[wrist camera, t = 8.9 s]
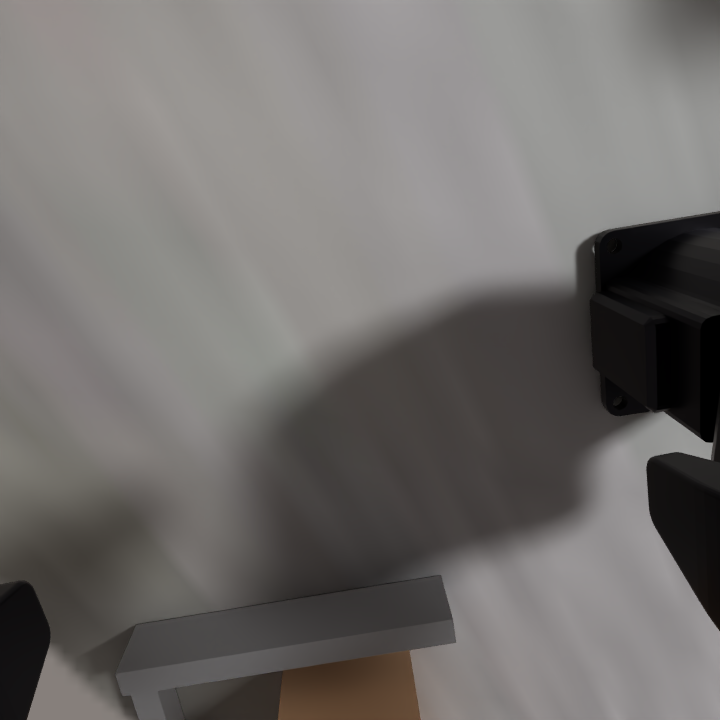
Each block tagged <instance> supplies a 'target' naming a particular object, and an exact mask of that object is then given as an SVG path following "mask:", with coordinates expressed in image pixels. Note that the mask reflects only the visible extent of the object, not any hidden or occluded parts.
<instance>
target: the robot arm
mask: <svg viewBox="0 0 720 720" xmlns="http://www.w3.org/2000/svg"><path fill="white" fill-rule="evenodd" d="M613 238H615V239H616V242H617V246H616V248H615V249H614V251H612V252H608V250H607V243H608V242H609V241H610V240H611V239H613ZM594 251H595V273H596V292H595V293H594V294H593V296H592V297H591V299H590V316H591V336H592V356H593V367H594V368H595V369H596V370H597V371H599V372H600V378H601V400H602V405H603V407H604V408H605V409H606V410H607V411H608V412H609V413H610V414H612V415H615V416H624V415H630V414H636V413H642V412H649V411H652V412H654V413H656V412H662V411H664V412H665V413H666V414H668V415H669V416H671V417H672V418H673V419H675V420H676V421H677V422H679V423H680V424H682V425H683V426H684V427H686V428H687V429H688V430H690V431H691V432H693V433H694V434H695V435H697V436H698V437H699V438H701V439H702V440H704V441H705V442H710V443H712V442H713V448H712V455H711V460H707V459H703V458H700V457H696V456H692V455H688V454H684V453H679V452H674V453H669V454H664V455H658V456H654V457H651V458H650V459H649V460H648V462H647V467H646V471H647V486H648V501H649V511H650V516H651V519H652V522H653V524H654V526H655V528H656V529H657V531H658V533H659V534H660V536H661V538H662V539H663V541H664V543H665V545H666V546H667V548H668V550H669V551H670V553H671V555H672V556H673V558H674V560H675V561H676V563H677V565H678V566H679V568H680V570H681V571H682V573H683V575H684V576H685V578H686V580H687V581H688V583H689V585H690V586H691V588H692V590H693V591H694V593H695V595H696V596H697V598H698V600H699V601H700V603H701V604H702V606H703V608H704V609H705V611H706V612H707V614H708V615H709V617H710V618H711V620H712V621H713V622H714V624H715V625H716V627H717V628H718V629H719V631H720V211H718V212H712V213H706V214H700V215H694V216H687V217H681V218H675V219H669V220H663V221H657V222H651V223H645V224H639V225H633V226H627V227H620V228H614V229H608V230H606V231H603V232H602V233H601V234H600V235H598V237H597V239H596V241H595V246H594ZM619 396H622V397H623V399H622V402H621V403H620V404H618V405H616V406H614V405H613V402H614V400H615V399H616V398H617V397H619ZM49 644H50V627H49V624H48V622H47V619H46V617H45V614H44V612H43V609H42V607H41V605H40V602H39V600H38V597H37V595H36V592H35V590H34V588H33V586H32V585H31V584H30V583H29V582H27V581H16V582H10V583H5V584H0V720H27V717H28V713H29V710H30V707H31V703H32V701H33V697H34V694H35V690H36V687H37V684H38V681H39V678H40V673H41V671H42V668H43V664H44V661H45V658H46V654H47V651H48V648H49Z"/></svg>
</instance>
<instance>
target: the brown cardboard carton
mask: <svg viewBox="0 0 720 720" xmlns="http://www.w3.org/2000/svg"><path fill="white" fill-rule="evenodd" d="M278 720H421V719H420V713H419V707H418V701H417V695H416V689H415V682H414V676H413V670H412V664H411V658H410V652H409V650H407V651H401V652H394V653H388V654H382V655H376V656H370V657H363V658H357V659H351V660H345V661H339V662H333V663H326V664H320V665H314V666H308V667H302V668H295V669H289V670H283V673H282V683H281V693H280V703H279V713H278Z"/></svg>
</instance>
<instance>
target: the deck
mask: <svg viewBox="0 0 720 720" xmlns="http://www.w3.org/2000/svg"><path fill="white" fill-rule="evenodd" d="M450 643H456V639H455V632H454V624H453V618H452V614H451V611H450V607H449V603H448V600H447V596H446V592H445V589H444V585H443V581H442V578H441V575H440V576H434V577H428V578H421V579H415V580H409V581H403V582H397V583H391V584H384V585H378V586H372V587H366V588H360V589H354V590H347V591H341V592H335V593H329V594H323V595H317V596H310V597H304V598H298V599H292V600H286V601H280V602H273V603H267V604H261V605H255V606H249V607H243V608H237V609H230V610H224V611H218V612H212V613H206V614H200V615H193V616H187V617H181V618H175V619H169V620H163V621H156V622H150V623H144V624H138V625H136V626H135V629H134V631H133V633H132V635H131V638H130V640H129V642H128V645H127V647H126V649H125V652H124V654H123V656H122V659H121V661H120V663H119V666H118V668H117V670H116V673H115V676H116V679H117V682H118V685H119V688H120V690H121V693H122V696H129V695H131V697H132V700H133V703H134V706H135V709H136V712H137V715H138V718H139V720H185V718H184V715H183V712H182V708H181V705H180V702H179V699H178V695H177V692H176V689H175V688H178V687H184V686H190V685H197V684H203V683H209V682H215V681H221V680H227V679H234V678H240V677H246V676H252V675H258V674H265V673H271V672H277V671H283V670H289V669H295V668H302V667H308V666H314V665H320V664H326V663H333V662H339V661H345V660H351V659H357V658H363V657H370V656H376V655H382V654H388V653H394V652H401V651H407V650H413V649H419V648H425V647H431V646H438V645H444V644H450Z"/></svg>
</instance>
